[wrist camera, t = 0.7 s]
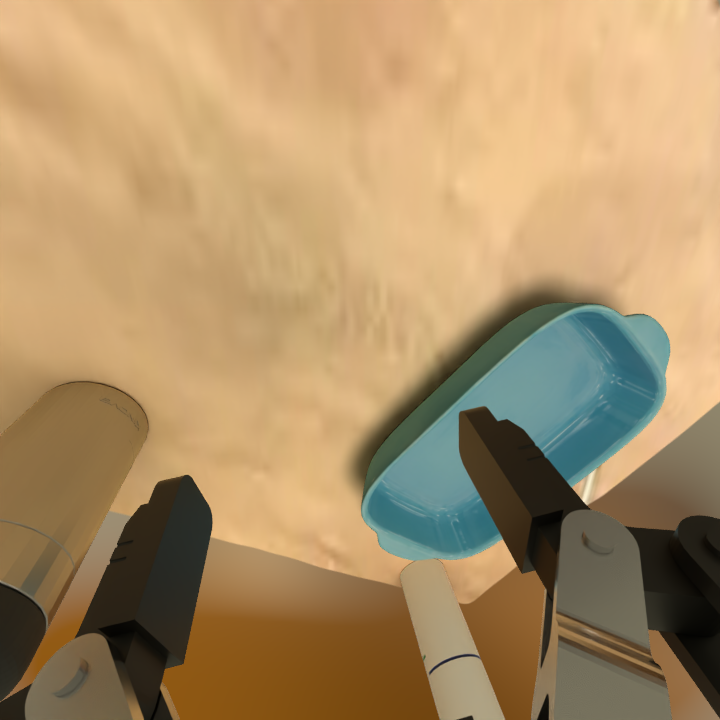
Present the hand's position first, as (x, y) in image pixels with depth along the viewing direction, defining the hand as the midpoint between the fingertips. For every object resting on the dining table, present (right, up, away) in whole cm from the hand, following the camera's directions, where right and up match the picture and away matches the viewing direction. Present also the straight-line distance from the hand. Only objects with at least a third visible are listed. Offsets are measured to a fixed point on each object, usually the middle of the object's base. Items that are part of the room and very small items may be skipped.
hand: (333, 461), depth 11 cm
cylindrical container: (+11, -31, +46) cm, 56 cm away
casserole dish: (+16, -4, +33) cm, 37 cm away
